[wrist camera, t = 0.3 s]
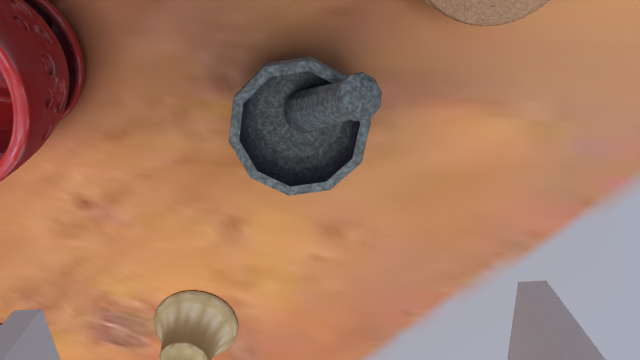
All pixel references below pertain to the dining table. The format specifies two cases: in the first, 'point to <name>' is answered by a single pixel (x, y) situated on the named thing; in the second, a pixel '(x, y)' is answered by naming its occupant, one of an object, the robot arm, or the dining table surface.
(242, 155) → the mortar and pestle
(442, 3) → the lidded jar
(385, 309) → the dining table surface
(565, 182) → the dining table surface
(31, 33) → the plant pot
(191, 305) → the hand bell
